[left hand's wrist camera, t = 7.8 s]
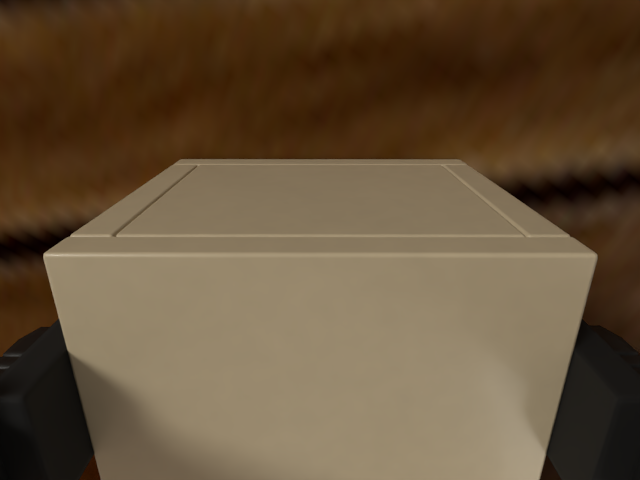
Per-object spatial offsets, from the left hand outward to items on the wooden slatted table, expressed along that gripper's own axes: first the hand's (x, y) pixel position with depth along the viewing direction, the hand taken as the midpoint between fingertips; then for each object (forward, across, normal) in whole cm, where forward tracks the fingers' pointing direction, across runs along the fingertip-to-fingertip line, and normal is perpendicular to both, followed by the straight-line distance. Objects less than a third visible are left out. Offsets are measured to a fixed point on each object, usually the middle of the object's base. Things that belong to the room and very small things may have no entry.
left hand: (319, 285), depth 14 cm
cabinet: (+3, 0, -7) cm, 8 cm away
